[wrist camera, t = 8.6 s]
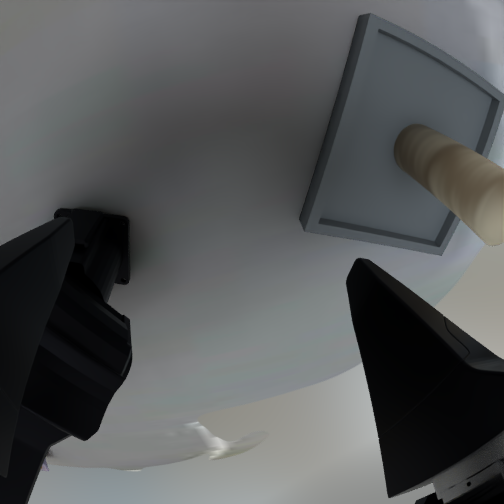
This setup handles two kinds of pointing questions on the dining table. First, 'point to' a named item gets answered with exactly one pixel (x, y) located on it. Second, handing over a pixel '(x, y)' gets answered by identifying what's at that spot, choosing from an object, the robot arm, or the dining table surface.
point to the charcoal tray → (394, 139)
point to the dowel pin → (455, 178)
